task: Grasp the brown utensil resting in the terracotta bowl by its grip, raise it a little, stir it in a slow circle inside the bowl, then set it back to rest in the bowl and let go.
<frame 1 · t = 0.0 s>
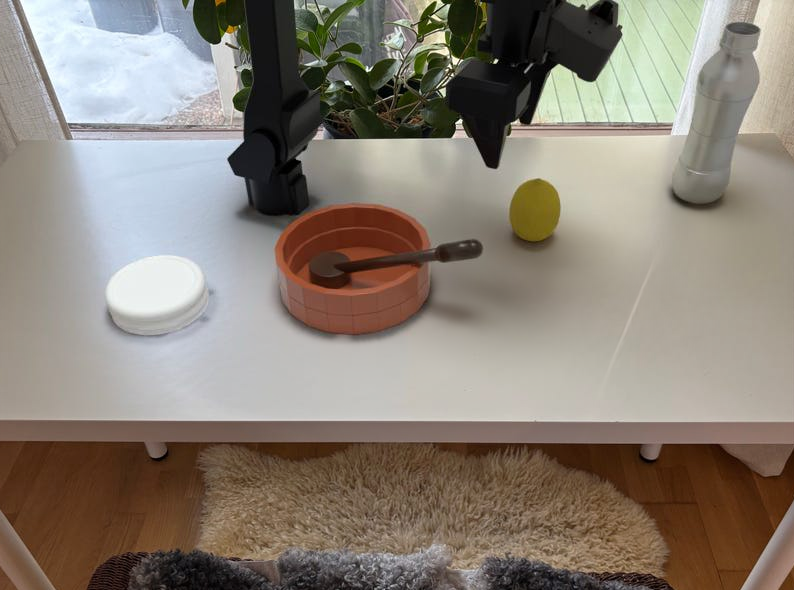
hand: (509, 144, 74), 15 cm above the table, tool pointing down, fingers open, 9 cm apart
bowl: (356, 290, 82), on the table
lemon: (531, 242, 88), on the table
brown utensil: (330, 277, 83), point 1 cm above the table, touching bowl
plastic bottle: (694, 197, 94), on the table
white round lid: (162, 310, 81), on the table
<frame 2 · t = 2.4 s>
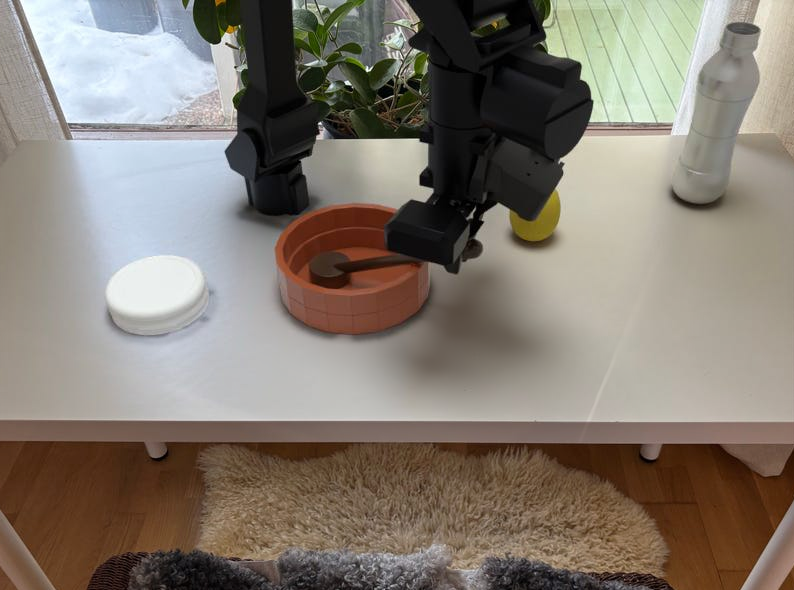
hand: (457, 266, 74), 7 cm above the table, tool pointing down, fingers closed on brown utensil, 2 cm apart
brown utensil: (330, 277, 83), point 1 cm above the table, touching bowl, gripper
everything else where it was.
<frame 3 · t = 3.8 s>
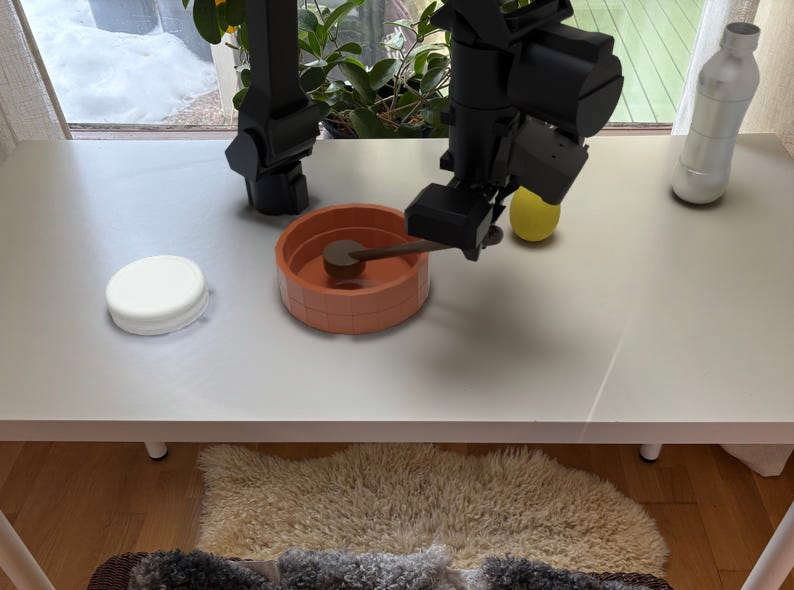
hand: (476, 253, 72), 9 cm above the table, tool pointing down, fingers closed on brown utensil, 2 cm apart
brown utensil: (344, 266, 81), point 3 cm above the table, touching gripper
everything else where it was.
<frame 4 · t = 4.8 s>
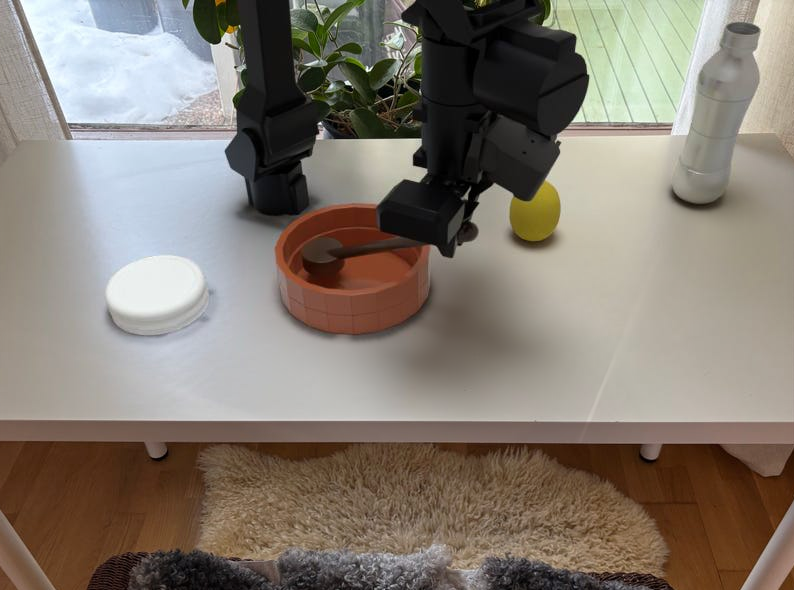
hand: (452, 250, 72), 9 cm above the table, tool pointing down, fingers closed on brown utensil, 2 cm apart
brown utensil: (323, 263, 81), point 3 cm above the table, touching gripper
everything else where it was.
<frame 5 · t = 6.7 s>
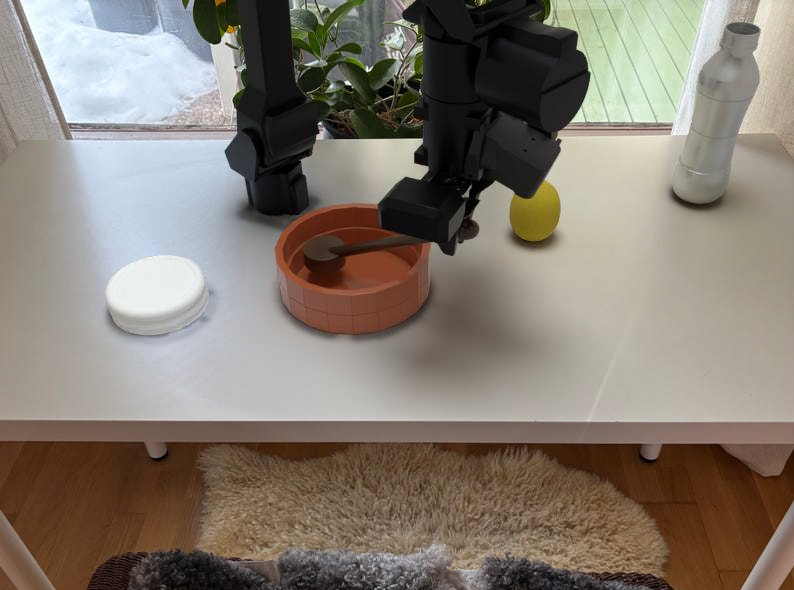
hand: (453, 248, 73), 9 cm above the table, tool pointing down, fingers closed on brown utensil, 2 cm apart
brown utensil: (325, 261, 81), point 3 cm above the table, touching gripper
everything else where it was.
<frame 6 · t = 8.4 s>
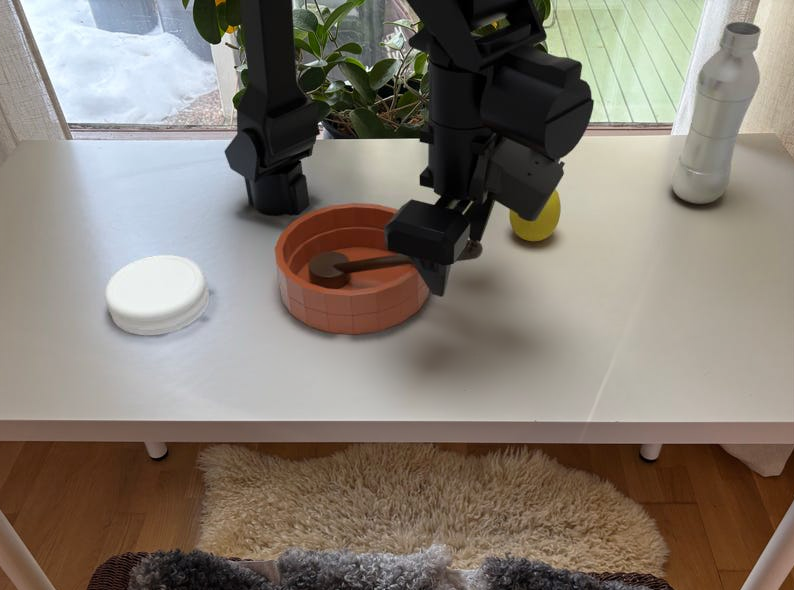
hand: (457, 266, 74), 7 cm above the table, tool pointing down, fingers open, 9 cm apart
brown utensil: (330, 277, 83), point 1 cm above the table, touching bowl
everything else where it was.
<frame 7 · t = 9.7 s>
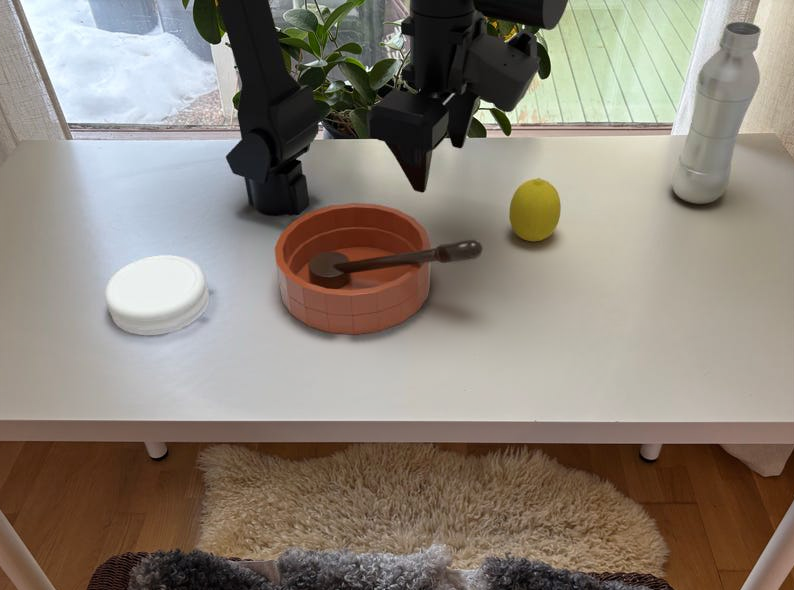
hand: (439, 168, 77), 12 cm above the table, tool pointing down, fingers open, 9 cm apart
nothing on the table moved.
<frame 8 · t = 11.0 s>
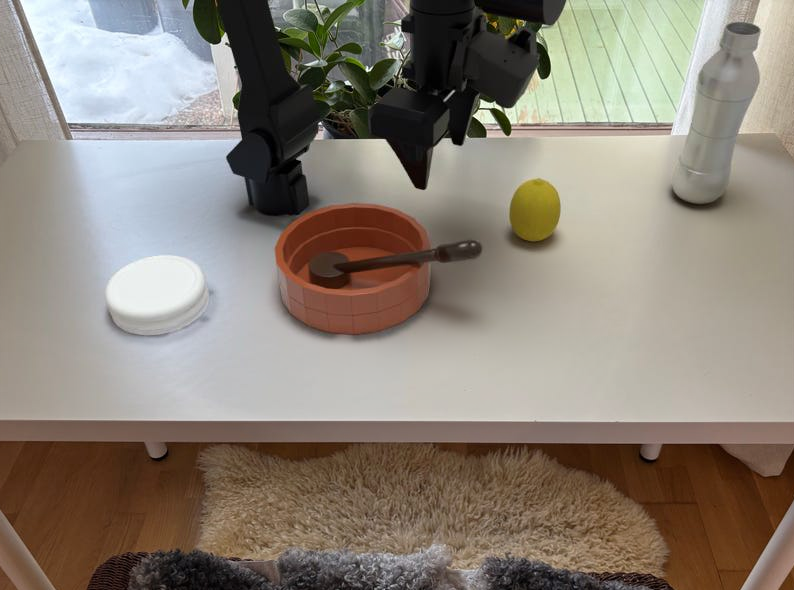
hand: (440, 165, 77), 12 cm above the table, tool pointing down, fingers open, 9 cm apart
nothing on the table moved.
at the end: brown utensil inside the target area in the bowl (1.0 cm from its centre), point 0.8 cm above the bowl's base; the gripper is holding nothing; brown utensil touching bowl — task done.
